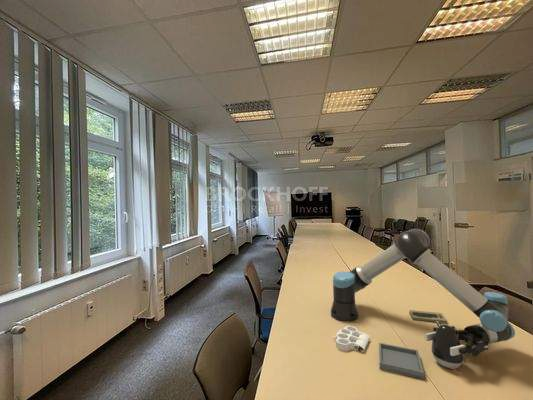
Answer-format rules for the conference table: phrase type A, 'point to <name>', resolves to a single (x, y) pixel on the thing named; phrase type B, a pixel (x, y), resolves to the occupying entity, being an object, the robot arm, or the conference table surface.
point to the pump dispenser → (446, 346)
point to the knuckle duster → (351, 339)
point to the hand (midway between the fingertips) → (438, 344)
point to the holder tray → (400, 360)
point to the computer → (427, 316)
